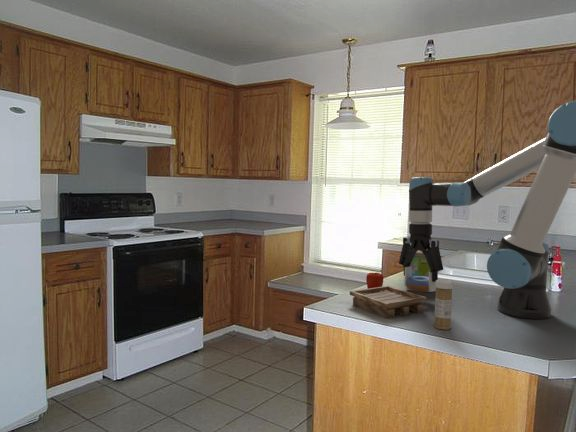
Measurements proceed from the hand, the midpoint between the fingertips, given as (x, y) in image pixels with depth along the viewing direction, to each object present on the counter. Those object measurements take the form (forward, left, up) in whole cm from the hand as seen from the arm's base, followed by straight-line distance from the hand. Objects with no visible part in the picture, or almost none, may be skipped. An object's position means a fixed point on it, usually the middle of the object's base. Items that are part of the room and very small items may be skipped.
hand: (419, 288), depth 150 cm
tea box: (+16, -17, -5) cm, 24 cm away
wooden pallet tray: (-1, +16, -5) cm, 16 cm away
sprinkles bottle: (-22, +15, -5) cm, 27 cm away
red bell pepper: (+17, +5, -5) cm, 18 cm away
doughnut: (0, 0, -1) cm, 1 cm away
